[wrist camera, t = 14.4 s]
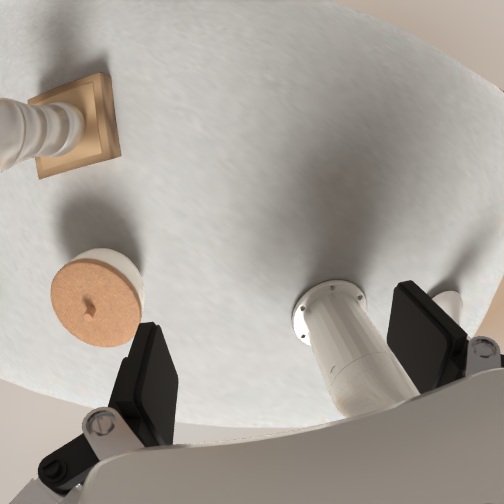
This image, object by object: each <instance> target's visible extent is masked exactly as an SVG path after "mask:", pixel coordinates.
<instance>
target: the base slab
mask: <svg viewBox="0 0 504 504" xmlns="http://www.w3.org/2000/svg"><path fill="white" fill-rule="evenodd" d="M55 102H68V103H71V104H73V105H74V106H76V107H78V108H79V109H80V111H81V112H82V114H83V116H84V120H85V130H84V134H83V137H82V139H81V141H80V142H79V144H78V145H77V146H76V147H75V148H74V149H73V150H72V151H70V152H69V153H67V154H65V155H63V156H60V157H44V156H40V157H35V161H36V166H37V172H38V177H39V180H40V179H43V178H46V177H49V176H52V175H56V174H59V173H62V172H66V171H69V170H72V169H76V168H80V167H83V166H87V165H91V164H94V163H98V162H102V161H106V160H110V159H114V158H117V157H120V156H121V151H120V145H119V139H118V132H117V125H116V118H115V110H114V102H113V93H112V83H111V77H110V76H108V75H106V74H103V73H101V72H99V73H96V74H93V75H90V76H87V77H84V78H81V79H78V80H75V81H73V82H70V83H67V84H65V85H62V86H59V87H57V88H54V89H52V90H50V91H47V92H45V93H42V94H40V95H38V96H36V97H33V98H31V99H29V100H28V104H31V105H48V104H51V103H55Z"/></svg>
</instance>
